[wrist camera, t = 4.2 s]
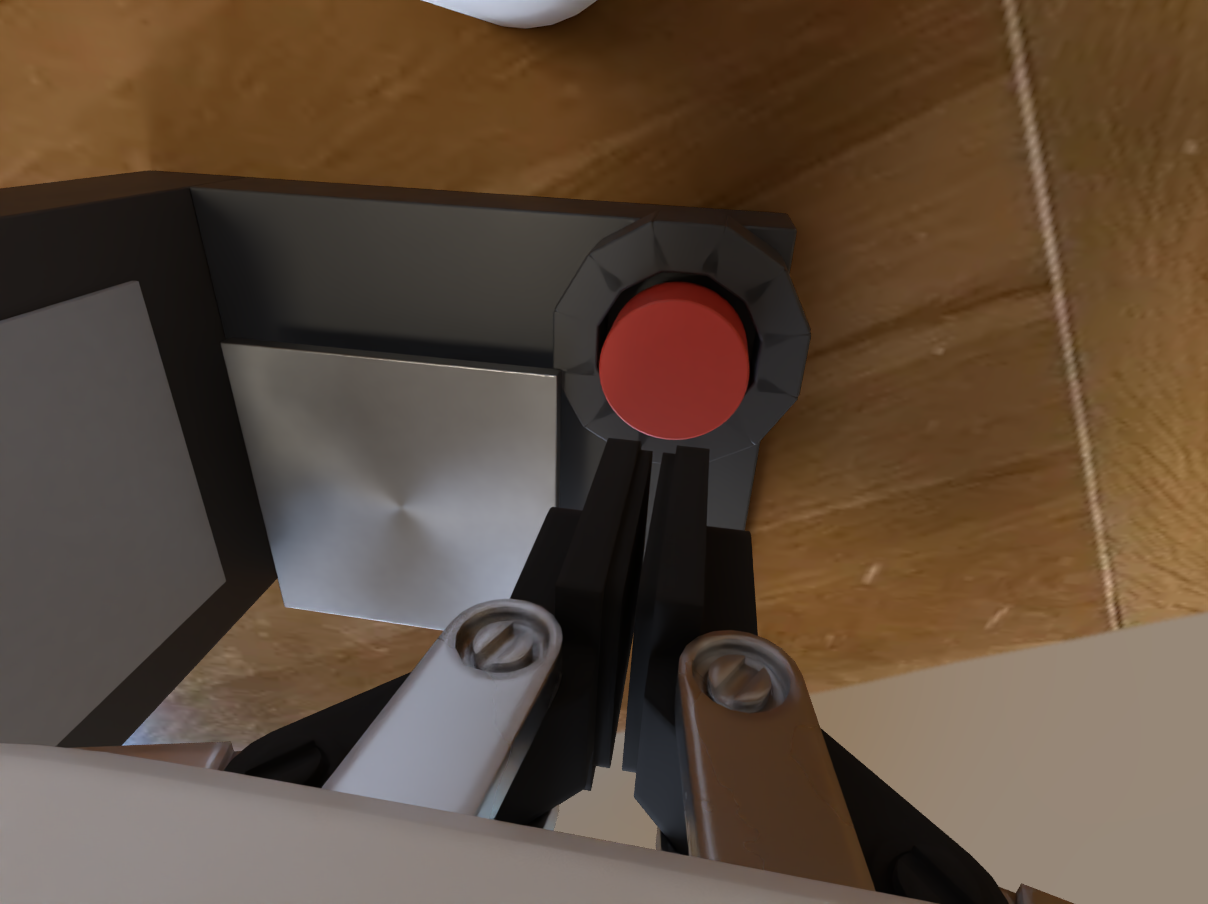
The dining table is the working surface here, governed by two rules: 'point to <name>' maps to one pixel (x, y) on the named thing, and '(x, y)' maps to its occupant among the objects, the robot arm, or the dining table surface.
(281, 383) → the tray
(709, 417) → the button
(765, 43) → the dining table surface
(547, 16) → the cylindrical container
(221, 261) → the machine
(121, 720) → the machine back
